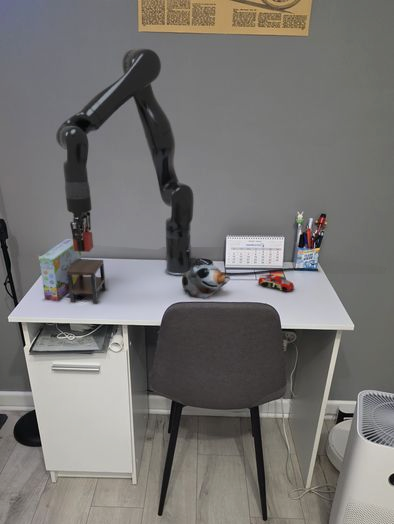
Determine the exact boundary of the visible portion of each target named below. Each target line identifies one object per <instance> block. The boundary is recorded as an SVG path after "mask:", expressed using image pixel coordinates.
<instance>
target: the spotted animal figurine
mask: <svg viewBox="0 0 394 524" xmlns="http://www.w3.org/2000/svg"><path fill="white" fill-rule="evenodd" d="M221 272H222V271H221V269H219V267H217V266H216V265H213V264H207V263H206V264H203V265H197V266H194V267H193V268H191V271H188V272H186V273H185V274H184V275H182V277H181V285H182V288H183V291H184V292H185V293H188V295H189V296H190V297H191V298H198V299H206V298H207V297H209V296H210V297H211V296H212V295H213V294H214V293H216V292H217V291H219V290H220V289H221V288H223V286H225V285H227V284H228V282H229V281H230V279H231V275H226V274H225V273H221Z"/></svg>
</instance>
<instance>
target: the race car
mask: <svg viewBox="0 0 394 524" xmlns="http://www.w3.org/2000/svg"><path fill="white" fill-rule="evenodd" d="M257 283H258V285H260V286H262V287H263V288H266V287H267V288H270V289H275V290H278V291H282V292H284V293H286V292H290V291H293V290H294V288H295V285H294V283H293V282H292V281H290V280H287V279H285V277H283V276H280V275H278V274H262V275H260V276H259V278H258V280H257Z"/></svg>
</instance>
